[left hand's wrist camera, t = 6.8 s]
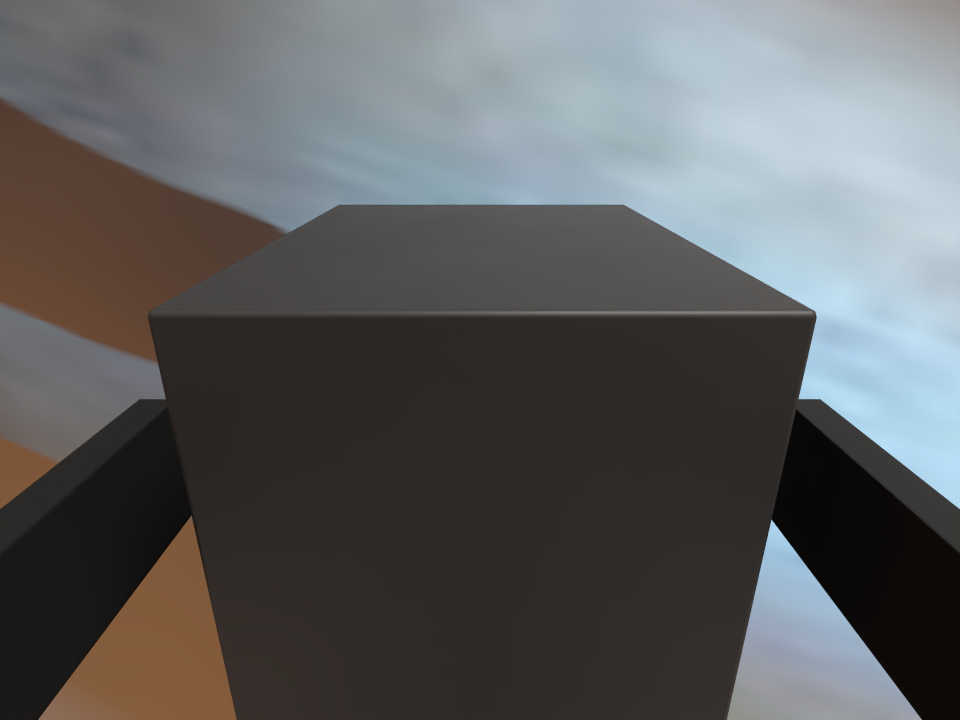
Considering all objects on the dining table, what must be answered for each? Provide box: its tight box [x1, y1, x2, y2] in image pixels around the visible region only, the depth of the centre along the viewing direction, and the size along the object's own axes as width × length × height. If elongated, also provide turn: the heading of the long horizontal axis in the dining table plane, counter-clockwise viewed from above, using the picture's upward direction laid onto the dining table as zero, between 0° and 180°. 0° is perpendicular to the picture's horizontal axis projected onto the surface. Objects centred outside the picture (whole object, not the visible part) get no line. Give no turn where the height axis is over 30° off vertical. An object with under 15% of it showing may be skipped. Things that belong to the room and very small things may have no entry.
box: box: [148, 205, 816, 720], centre depth 17 cm, size 27×9×11 cm, turn 0°
